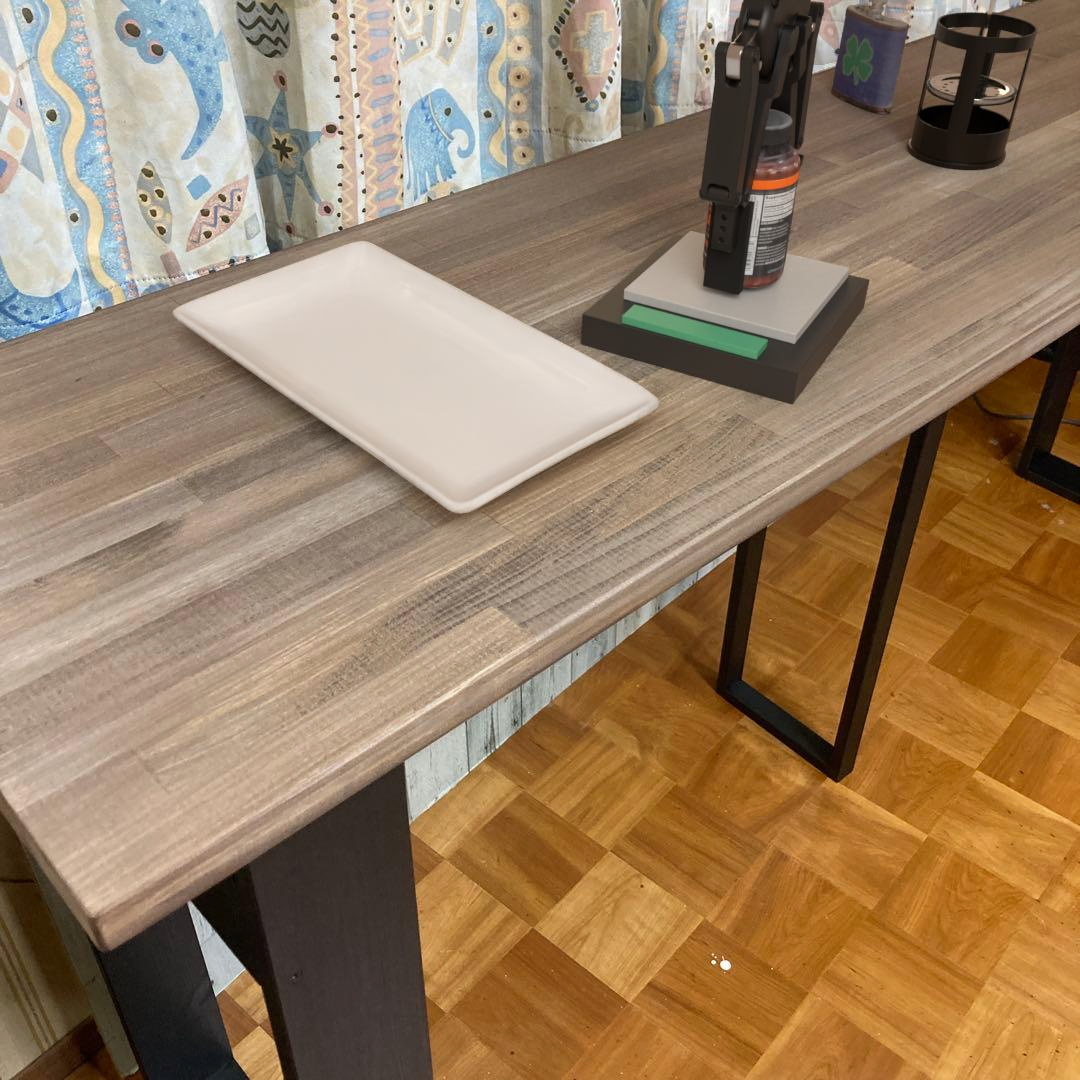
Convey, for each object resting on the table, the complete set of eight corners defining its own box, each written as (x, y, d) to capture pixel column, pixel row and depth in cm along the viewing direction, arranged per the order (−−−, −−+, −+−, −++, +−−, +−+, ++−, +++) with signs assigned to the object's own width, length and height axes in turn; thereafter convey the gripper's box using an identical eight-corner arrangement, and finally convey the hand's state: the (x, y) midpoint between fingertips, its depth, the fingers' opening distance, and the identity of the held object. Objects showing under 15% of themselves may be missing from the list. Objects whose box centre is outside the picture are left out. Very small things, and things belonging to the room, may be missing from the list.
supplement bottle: (687, 262, 84) (702, 107, 76) (757, 251, 85) (778, 98, 78) (725, 297, 79) (744, 135, 72) (798, 284, 81) (824, 125, 74)
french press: (996, 178, 107) (1071, -96, 92) (897, 162, 110) (954, -106, 96) (1012, 140, 115) (1083, -117, 101) (919, 125, 118) (975, -126, 104)
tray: (459, 558, 62) (456, 508, 60) (174, 348, 80) (164, 303, 78) (664, 443, 71) (668, 396, 69) (367, 278, 89) (363, 236, 87)
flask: (896, 112, 121) (918, 5, 115) (874, 116, 120) (895, 8, 114) (844, 87, 128) (861, -15, 121) (823, 91, 127) (839, -12, 120)
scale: (863, 308, 86) (871, 269, 84) (792, 404, 75) (800, 362, 73) (672, 261, 92) (675, 224, 90) (580, 344, 81) (582, 303, 79)
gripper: (783, -116, 75) (740, 214, 90) (665, -67, 63) (637, 310, 77) (893, -105, 73) (831, 235, 87) (794, -51, 60) (740, 337, 74)
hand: (740, 269), depth 82 cm, fingers closed on supplement bottle, 6 cm apart
